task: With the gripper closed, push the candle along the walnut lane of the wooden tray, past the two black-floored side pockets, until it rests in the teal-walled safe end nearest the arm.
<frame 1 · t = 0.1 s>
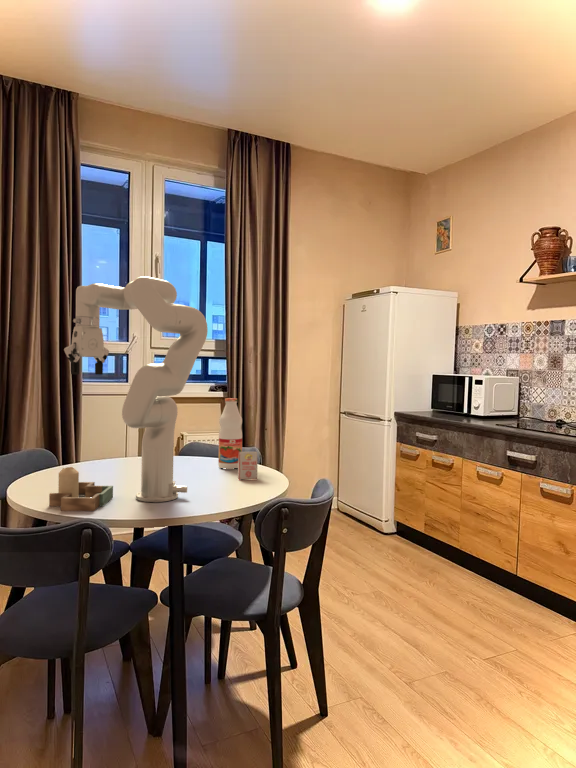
hand: (87, 374, 182), 37 cm above the table, tool pointing down, fingers open, 9 cm apart
wooden tray: (82, 501, 160), on the table
fruit juice: (230, 468, 219), on the table
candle: (68, 502, 160), on the table
white red box: (247, 479, 198), on the table
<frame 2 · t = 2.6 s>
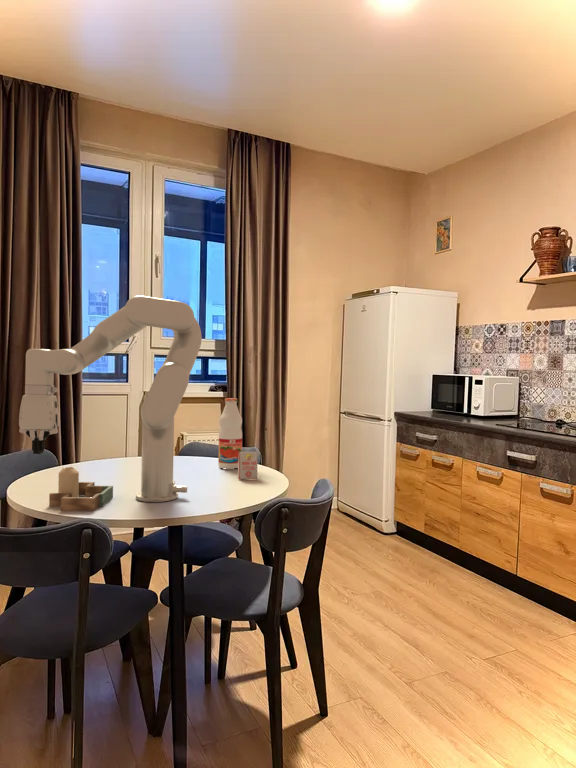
hand: (38, 453, 159), 14 cm above the table, tool pointing down, fingers closed
nothing on the table moved.
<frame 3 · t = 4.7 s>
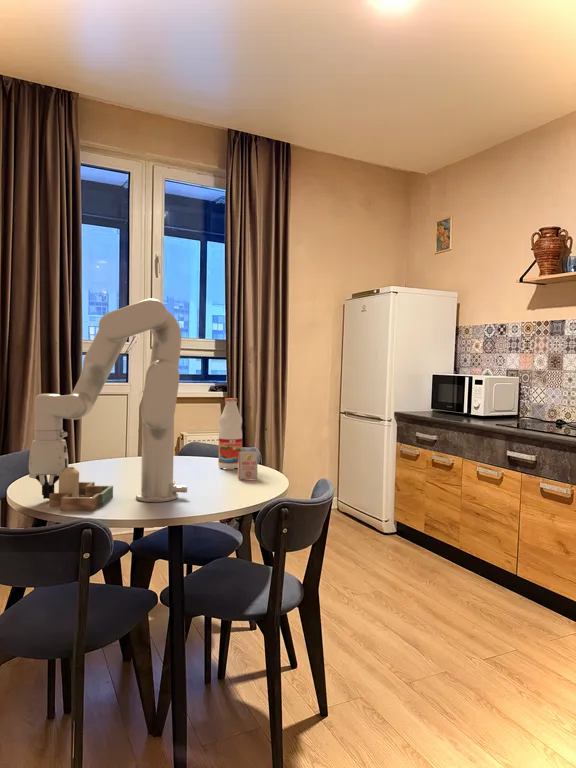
hand: (48, 497, 160), 1 cm above the table, tool pointing down, fingers closed
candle: (68, 501, 160), on the table, touching gripper
everything else where it was.
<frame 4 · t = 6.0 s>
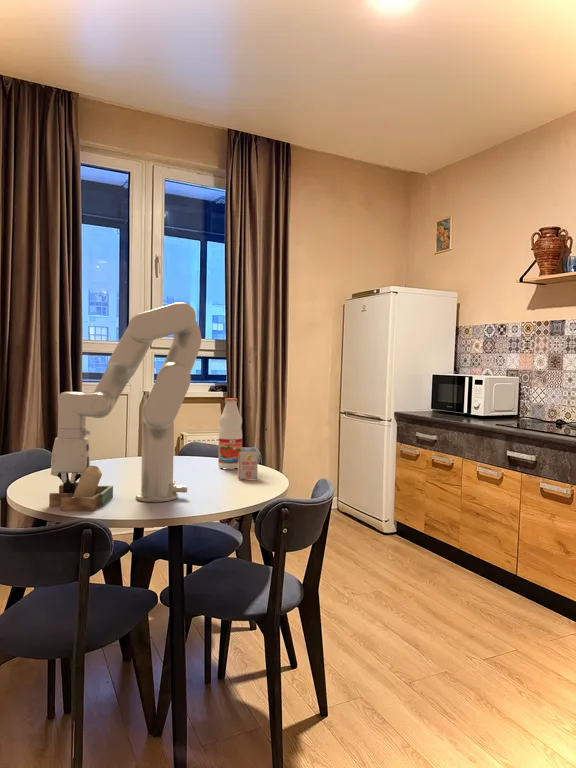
hand: (69, 495, 160), 2 cm above the table, tool pointing down, fingers closed
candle: (82, 498, 160), point 1 cm above the table, touching gripper
everything else where it was.
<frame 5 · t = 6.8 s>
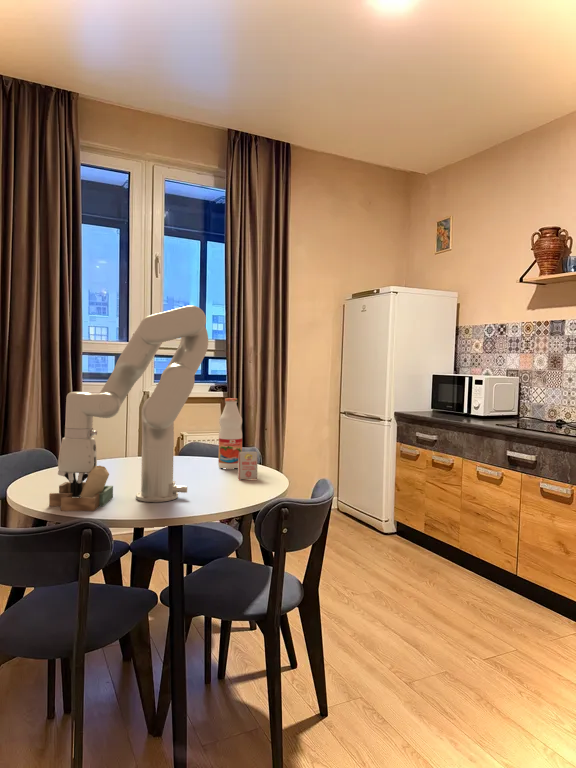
hand: (76, 495, 160), 2 cm above the table, tool pointing down, fingers closed
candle: (89, 498, 160), point 1 cm above the table, touching gripper
everything else where it was.
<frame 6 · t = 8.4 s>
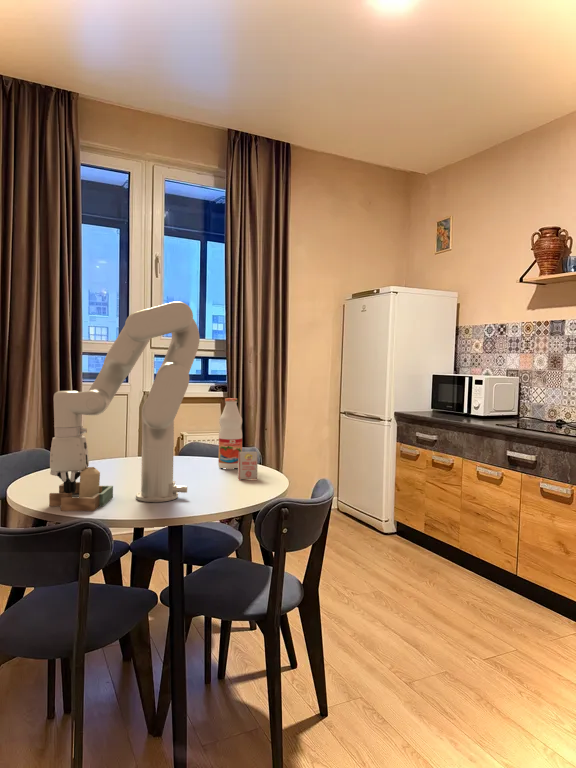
hand: (70, 494, 160), 2 cm above the table, tool pointing down, fingers closed
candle: (88, 501, 161), on the table
everything else where it was.
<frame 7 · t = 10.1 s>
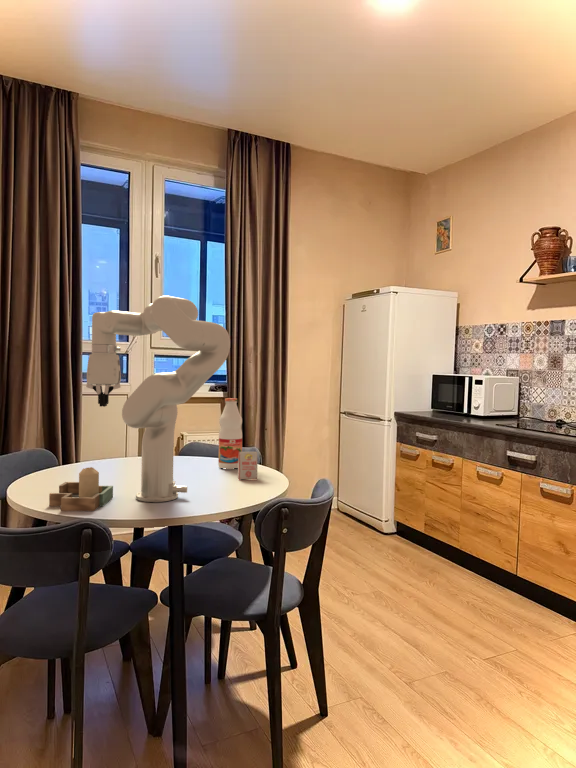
hand: (103, 406, 178), 27 cm above the table, tool pointing down, fingers closed
nothing on the table moved.
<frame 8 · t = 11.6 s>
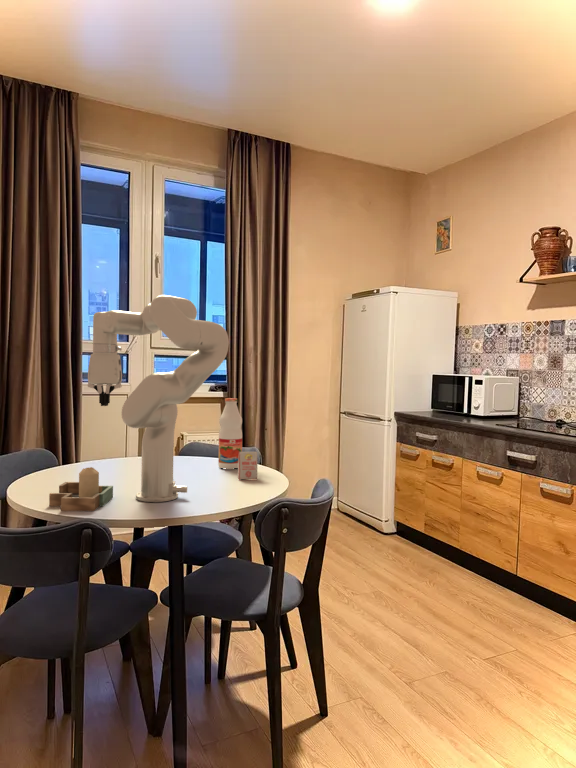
hand: (104, 405, 179), 27 cm above the table, tool pointing down, fingers closed
nothing on the table moved.
at the end: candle inside the target area on the wooden tray (1.4 cm from its centre), point 0.0 cm above the wooden tray's base; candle tilted 0°; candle moved 5.9 cm from its start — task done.
